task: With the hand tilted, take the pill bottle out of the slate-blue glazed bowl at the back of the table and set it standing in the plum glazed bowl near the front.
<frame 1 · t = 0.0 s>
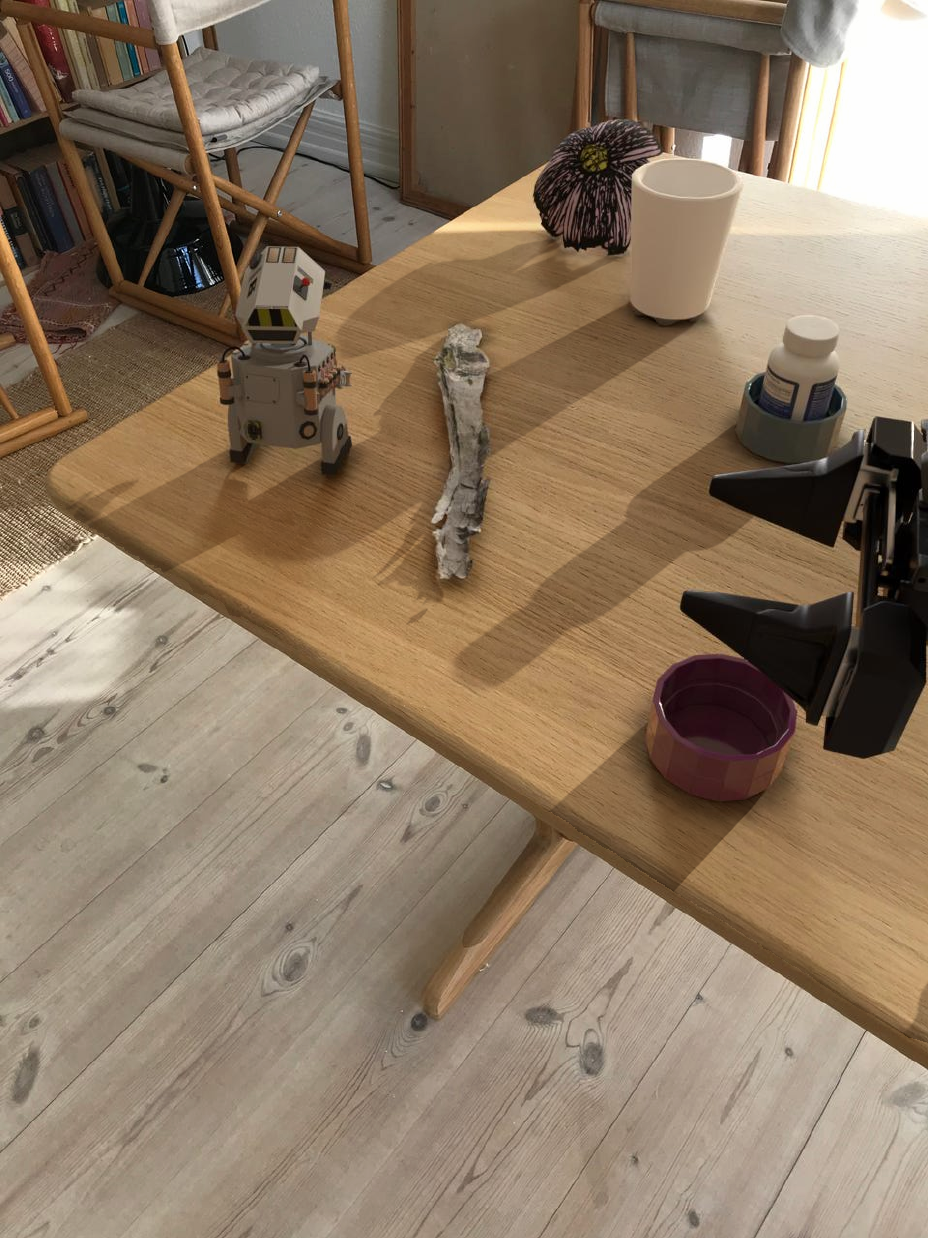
hand: (696, 538, 49), 16 cm above the table, tool horizontal, fingers open, 9 cm apart
figurine: (300, 445, 83), on the table
decorative flower: (594, 231, 112), on the table
pill bottle: (784, 436, 83), resting on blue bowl
driftwood: (460, 438, 84), on the table
plum bowl: (713, 748, 60), on the table
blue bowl: (784, 437, 83), on the table
cup: (667, 311, 99), on the table
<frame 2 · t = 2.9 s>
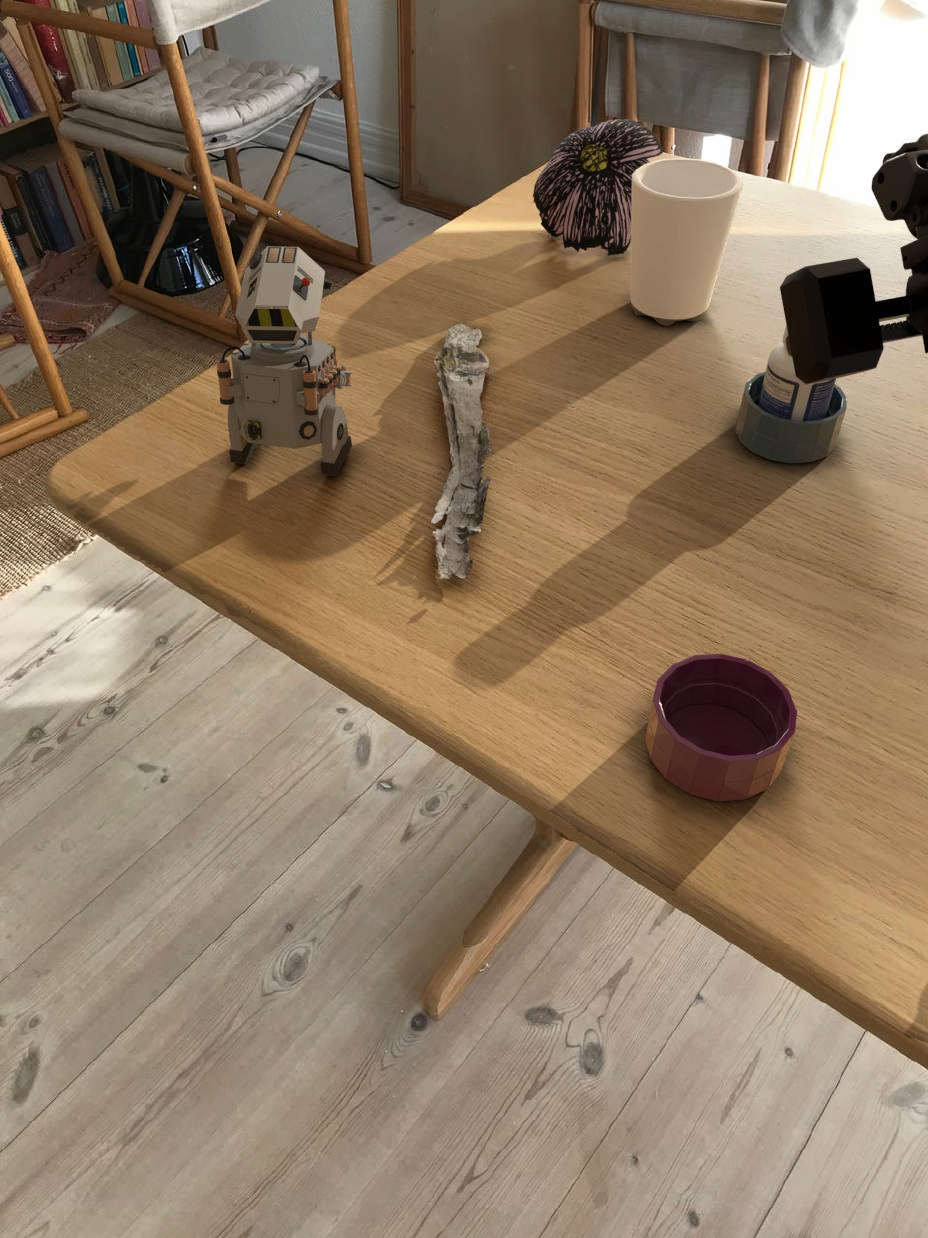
hand: (849, 334, 66), 15 cm above the table, tool tilted 50°, fingers open, 9 cm apart
nothing on the table moved.
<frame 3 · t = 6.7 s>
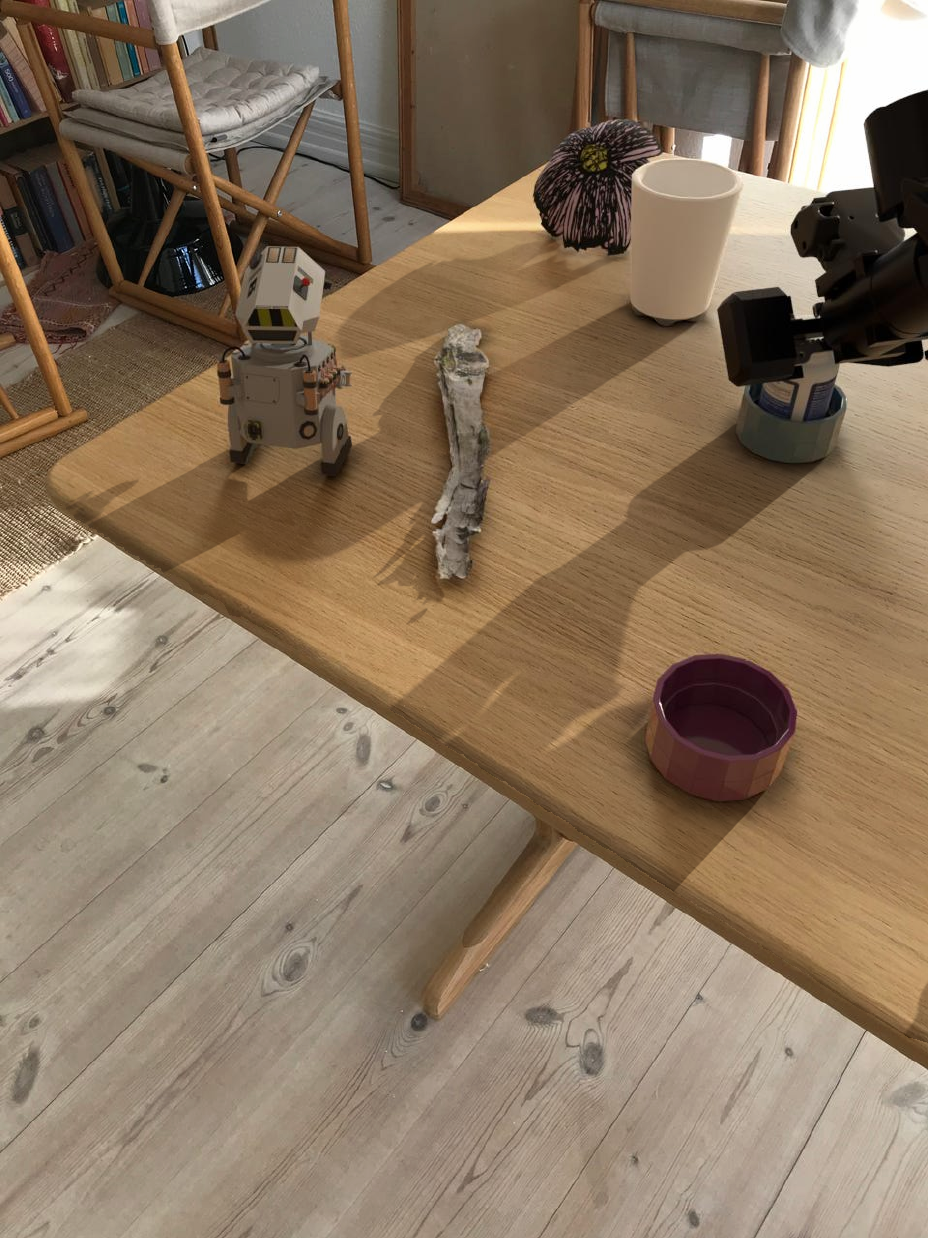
hand: (794, 357, 80), 7 cm above the table, tool tilted 45°, fingers closed on pill bottle, 5 cm apart
pill bottle: (784, 436, 83), resting on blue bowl, touching gripper
everything else where it was.
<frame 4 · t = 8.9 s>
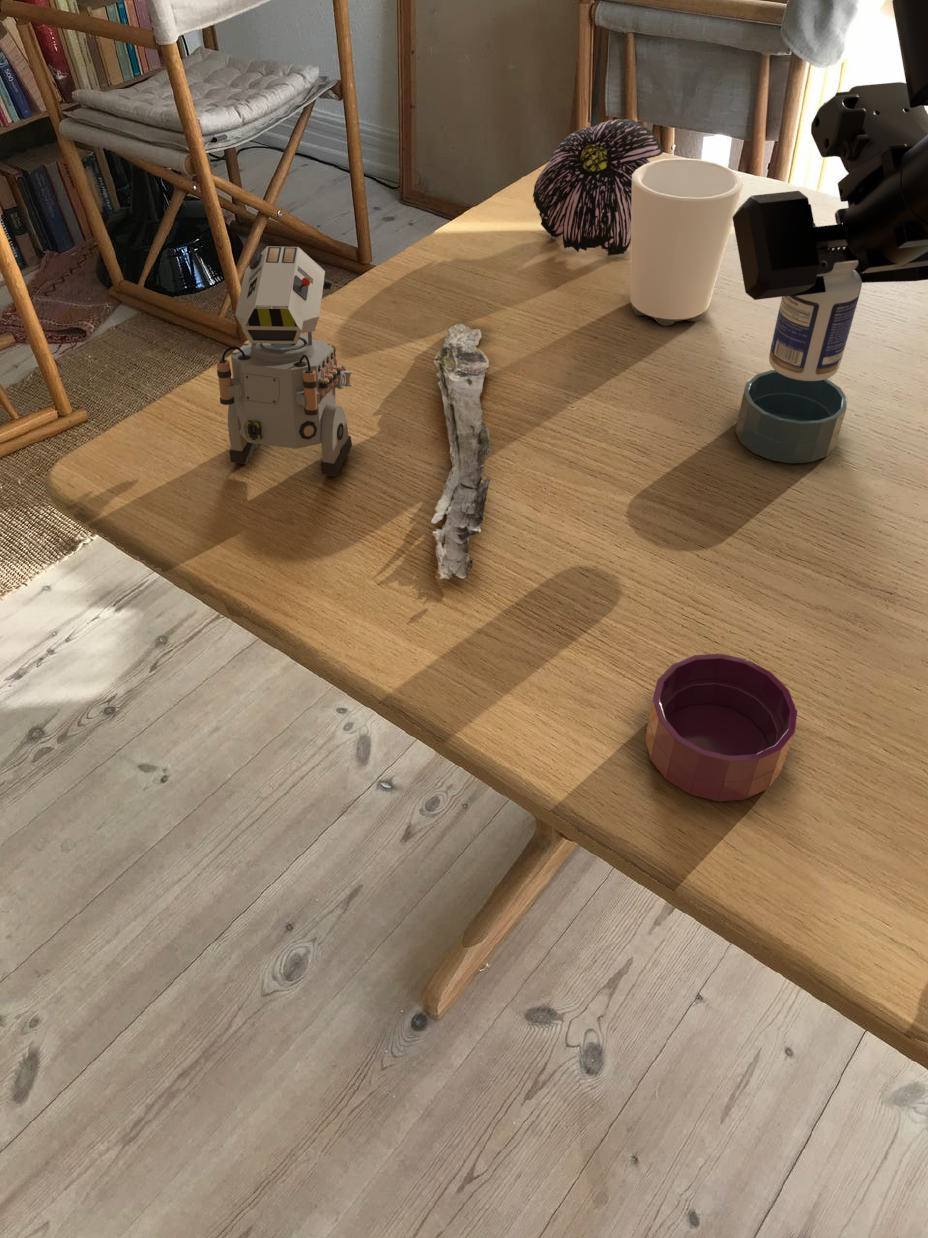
hand: (813, 280, 75), 13 cm above the table, tool tilted 45°, fingers closed on pill bottle, 5 cm apart
pill bottle: (802, 367, 78), point 7 cm above the table, touching gripper
everything else where it was.
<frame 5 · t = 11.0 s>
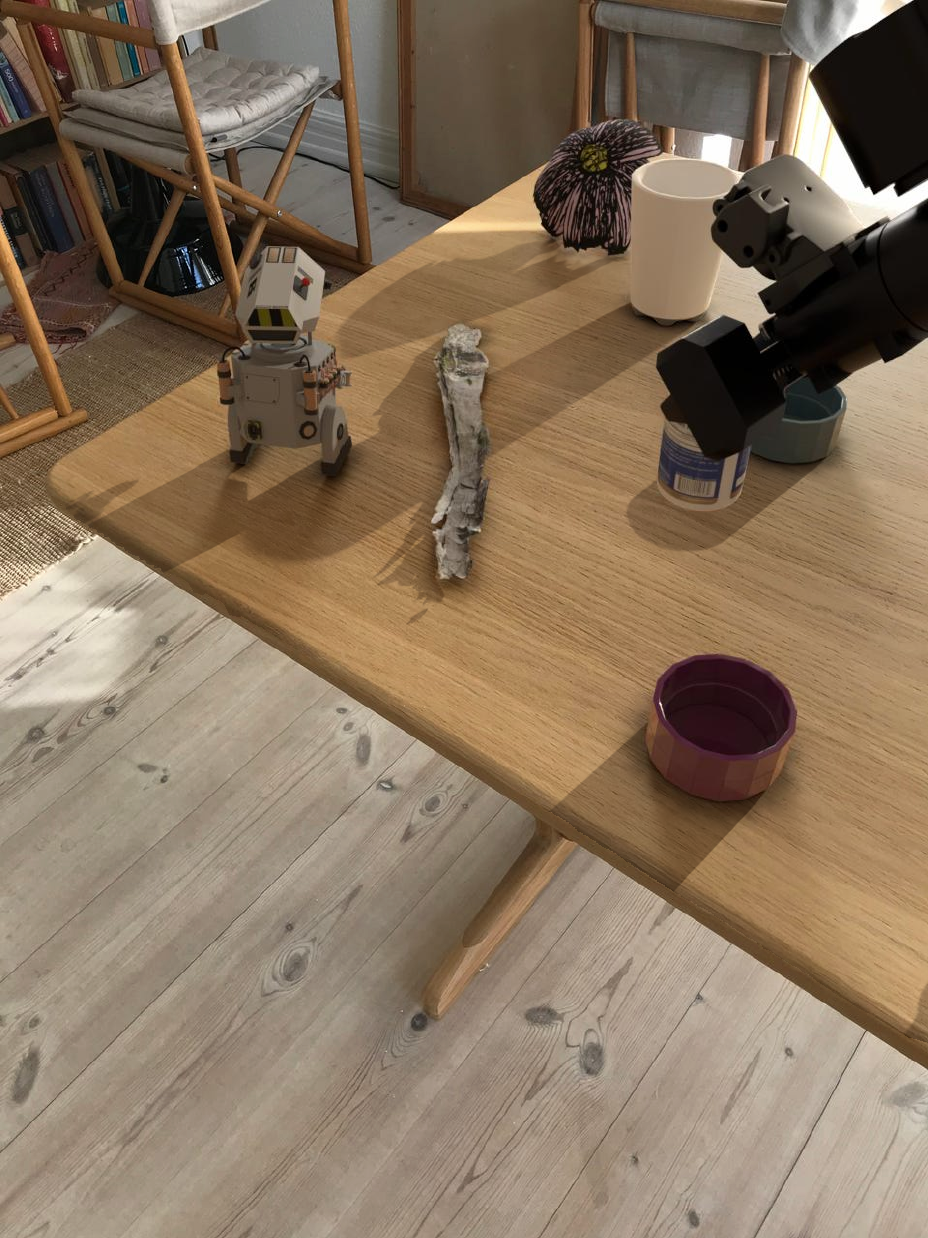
hand: (694, 394, 61), 15 cm above the table, tool tilted 45°, fingers closed on pill bottle, 5 cm apart
pill bottle: (697, 491, 64), point 8 cm above the table, touching gripper
everything else where it was.
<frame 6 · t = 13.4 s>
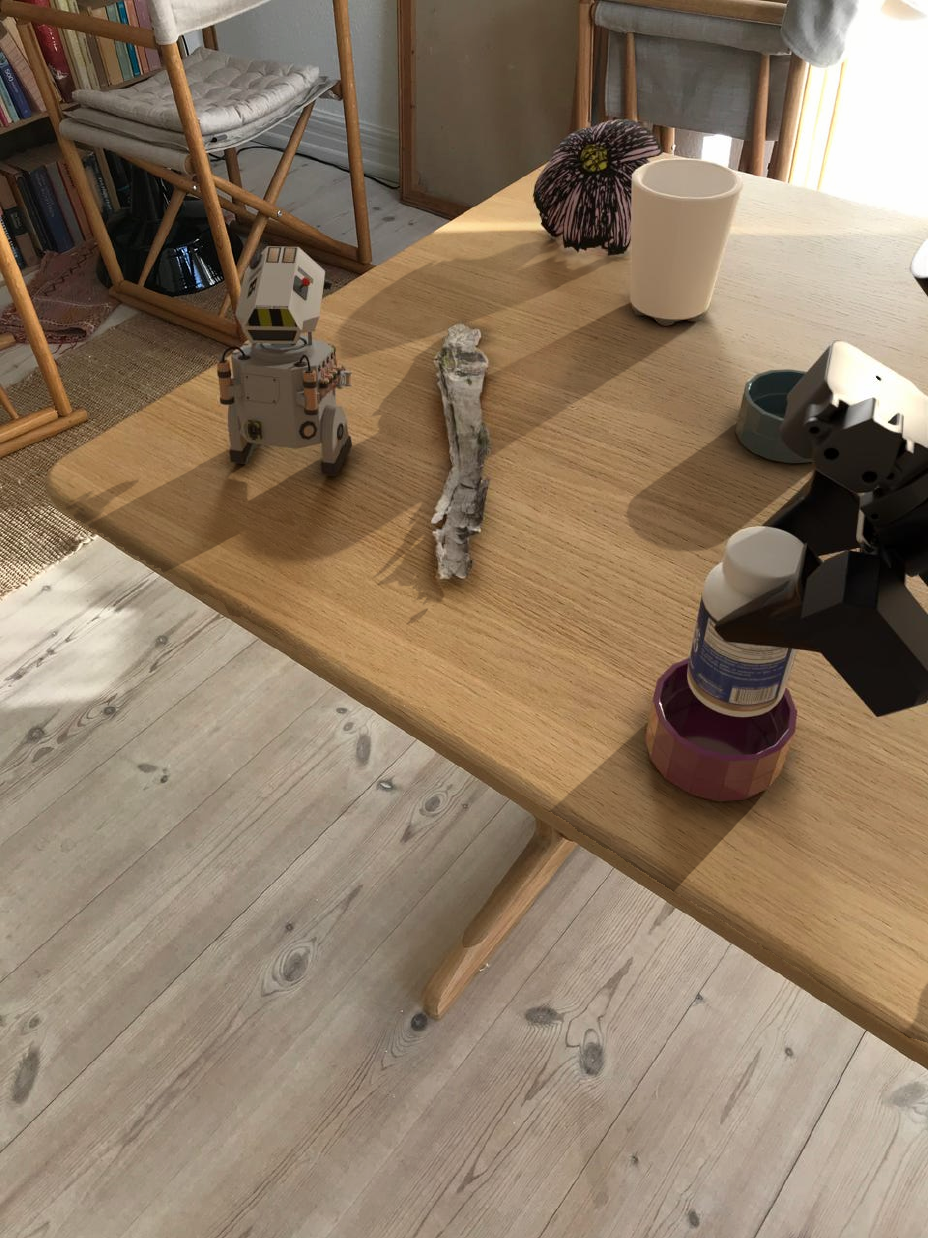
hand: (728, 595, 52), 12 cm above the table, tool tilted 45°, fingers closed on pill bottle, 5 cm apart
pill bottle: (733, 686, 56), point 6 cm above the table, touching gripper
everything else where it was.
when the fingers open (7 cm above the table, at t = 15.4 s): pill bottle stays where it is, resting on plum bowl.
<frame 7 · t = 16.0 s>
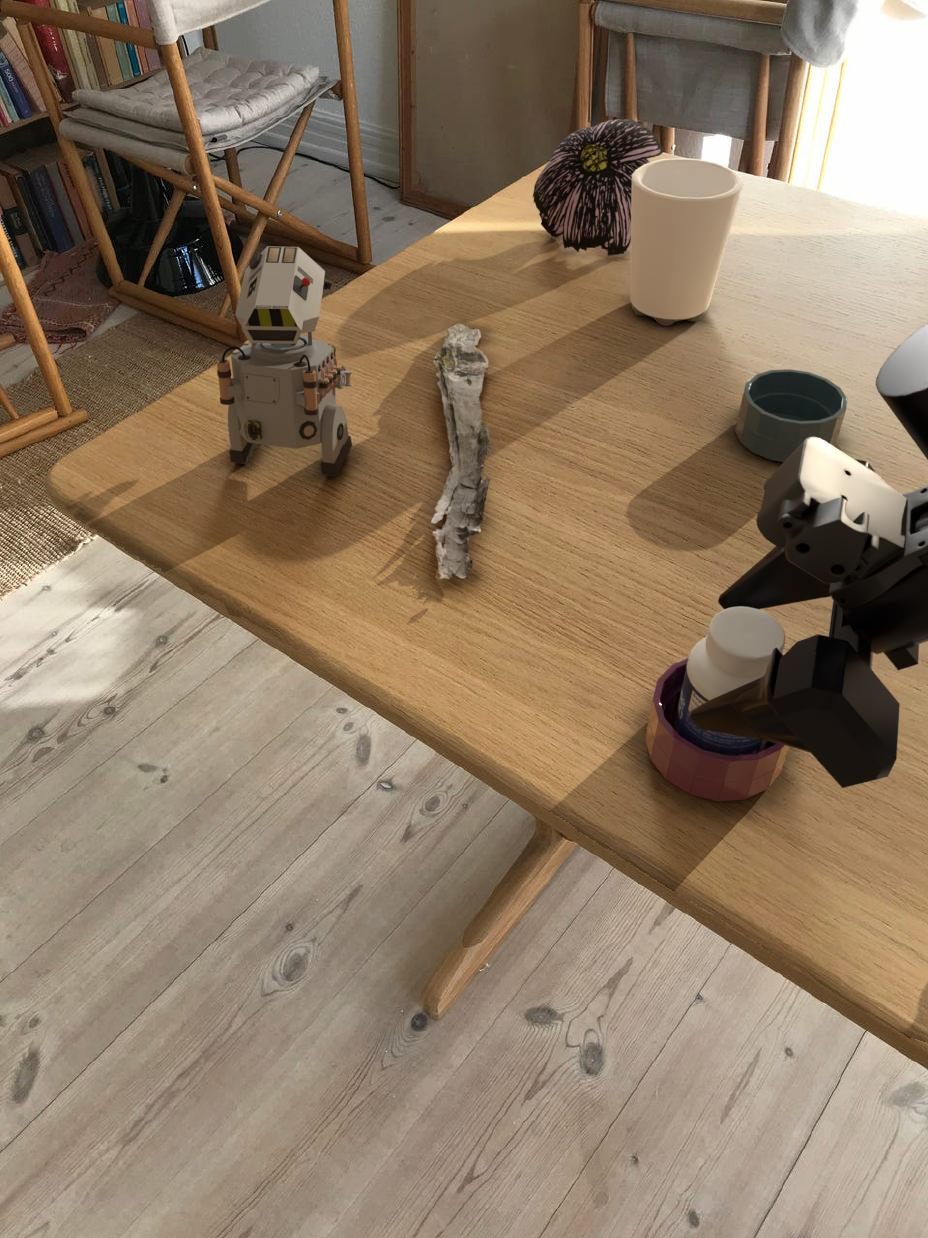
hand: (709, 659, 55), 7 cm above the table, tool tilted 45°, fingers open, 9 cm apart
pill bottle: (715, 748, 60), resting on plum bowl
everything else where it was.
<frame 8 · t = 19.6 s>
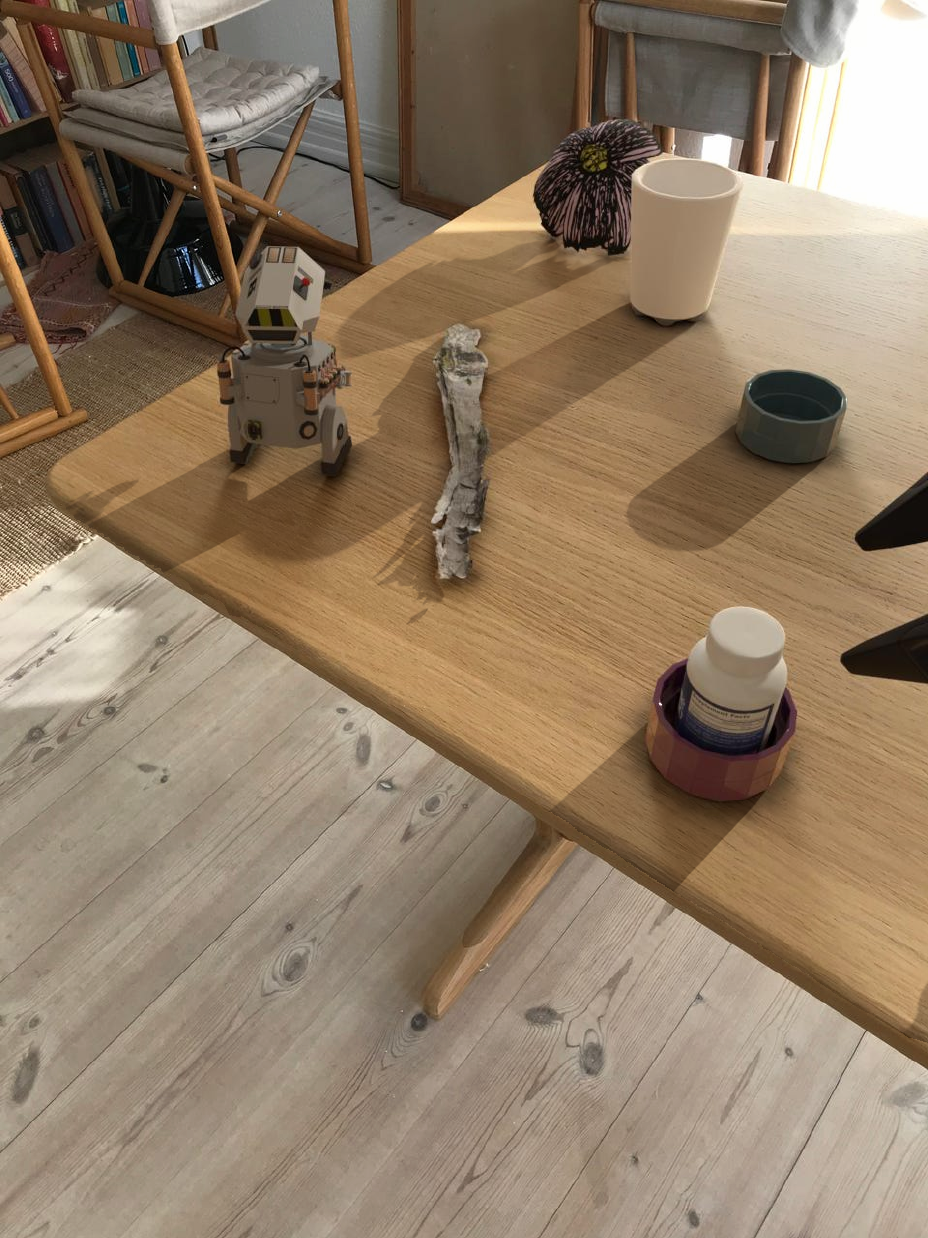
hand: (852, 600, 50), 14 cm above the table, tool tilted 45°, fingers open, 9 cm apart
nothing on the table moved.
at the end: pill bottle 0.1 cm off-centre in the plum bowl, point 0.0 cm above the plum bowl's base; pill bottle tilted 0°; pill bottle touching plum bowl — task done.
